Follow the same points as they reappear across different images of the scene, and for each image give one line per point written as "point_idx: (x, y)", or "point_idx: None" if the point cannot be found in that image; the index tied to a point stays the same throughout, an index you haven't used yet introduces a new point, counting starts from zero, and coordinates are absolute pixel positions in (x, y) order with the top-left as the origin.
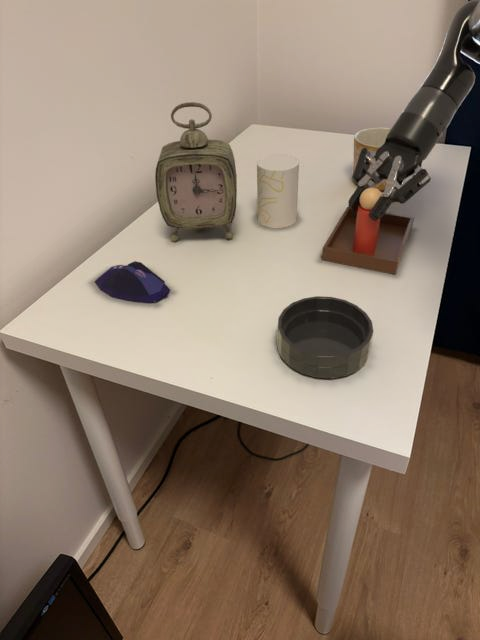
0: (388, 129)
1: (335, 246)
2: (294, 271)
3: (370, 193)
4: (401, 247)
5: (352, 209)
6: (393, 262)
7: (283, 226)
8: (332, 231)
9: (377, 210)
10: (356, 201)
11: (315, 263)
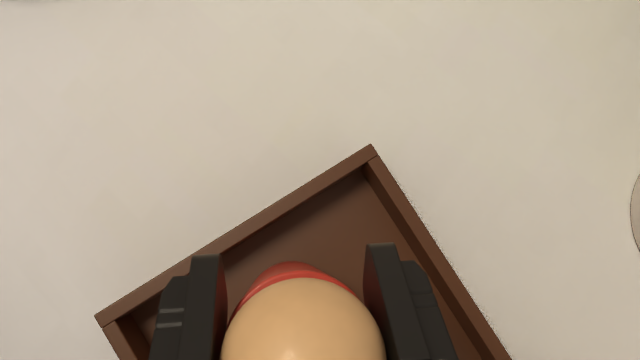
0: None
1: None
2: (359, 33)
3: (278, 328)
4: None
5: (366, 260)
6: (111, 304)
7: (635, 192)
8: (451, 267)
9: (183, 302)
10: (375, 292)
11: (357, 123)
